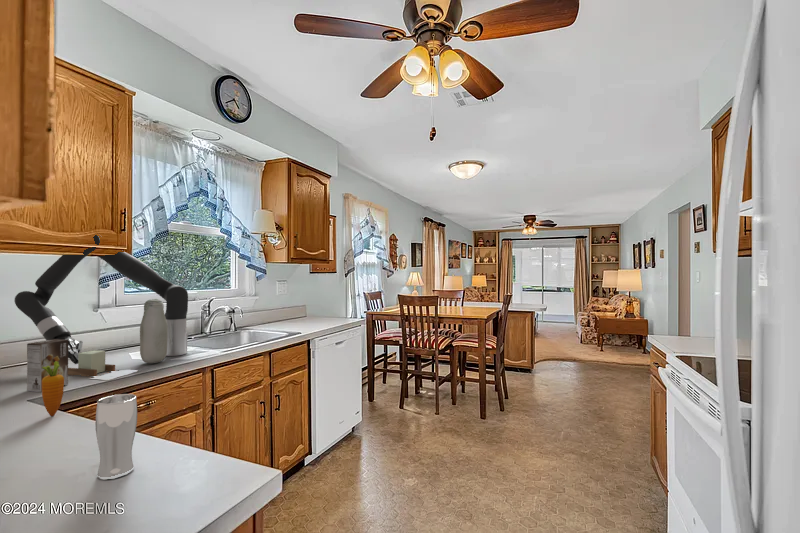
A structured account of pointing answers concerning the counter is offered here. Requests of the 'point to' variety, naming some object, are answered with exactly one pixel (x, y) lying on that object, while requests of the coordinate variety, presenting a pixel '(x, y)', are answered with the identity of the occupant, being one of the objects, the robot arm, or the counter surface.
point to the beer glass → (116, 433)
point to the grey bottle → (153, 332)
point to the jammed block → (92, 360)
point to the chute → (89, 370)
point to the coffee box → (45, 361)
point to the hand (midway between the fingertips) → (78, 362)
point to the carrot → (52, 389)
